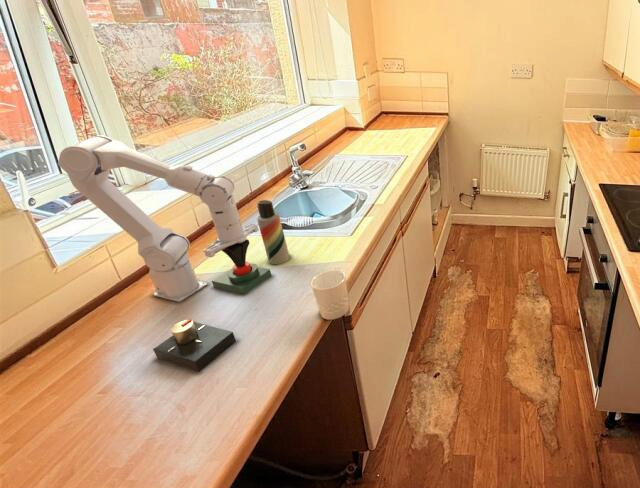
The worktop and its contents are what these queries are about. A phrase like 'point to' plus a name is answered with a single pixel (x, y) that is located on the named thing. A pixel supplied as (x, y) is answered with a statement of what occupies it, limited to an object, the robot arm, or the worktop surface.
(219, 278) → the button block
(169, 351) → the dial panel
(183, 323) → the dial
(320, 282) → the white cup
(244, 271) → the button
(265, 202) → the lotion bottle
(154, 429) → the worktop surface
